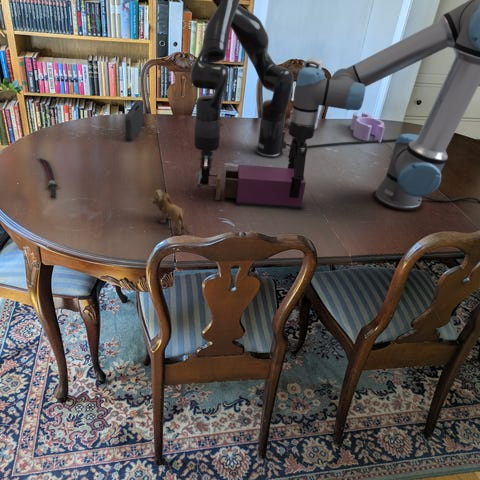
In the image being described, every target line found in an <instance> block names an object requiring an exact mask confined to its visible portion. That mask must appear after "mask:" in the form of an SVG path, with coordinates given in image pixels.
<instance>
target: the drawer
mask: <svg viewBox="0 0 480 480" xmlns="http://www.w3.org/2000/svg"><path fill="white" fill-rule="evenodd" d="M201 172H202V171H199V172H198V174H197V181H196V187H197V188H199V189H200V188H201V187H204V188H215V200H220V199H221V198H220V197H221V186H222V184H221V183H222V166H217V169H216V173H210V175H209V177H214V178H216V184H210V183H209V184H202V174H201ZM237 190H238V169H225V178H224V198H230V199H236V198H237Z"/></svg>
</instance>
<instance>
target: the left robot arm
mask: <svg viewBox="0 0 480 480" xmlns="http://www.w3.org/2000/svg"><path fill="white" fill-rule="evenodd" d="M211 1H212V3H213V4H214V5H215V7H216V10H215V11H214V12H213V14H212V16H211V17H210V18H209V20H208V22H207V24H206V26H205V29H204V33H203V38H202V44H201V49H200V51H199V53H198V55H197V58H196V59H195V61H194V63H193V65H192V66H191V70H190V75H189V78H190V82H191V84H192V85H193V87H194V88H197V89H202V90H203V89H205V90H207V89H209V90H211V91H213V90H214V94H213V93H211V94H212V95H210V94H209V95H207V96H205V95H201V96H199V97H198V98H197V99H196V103H195V104H196V106H195V108H196V110H195V121H194V148H195V149H197V150H199V162H200V163H199V165H200V166H199V167H200V169H201V171H200V172H201V174H202V184H209V185H210V176H209V175H210V174H211V170H212V163H213V157H214V151H217V150H218V149H219V148H220V140H221V139H220V138H221V137H220V136H221V107H222V100H223V96H224V93H225V90H226V88H227V84H228V81H229V77H230V75H229V69H228V67H227V66H226V65H225V64H222V63H219V62H221V61H223V60H224V59H225V57H226V54H227V50H228V49H227V48H228V44H229V38H230V33H231V30H232V32H233V33H234V36H235V37H236V39H237V41H238V42H239V44H240V46H241V47H242V49H243V51H244V52H245V54H246V55H247V57H248V59H249V60H250V62H251V64H252V66H253V68H254V69H255V72H256V75H257V77H258V79H259V81H260V83H261V86H262V87H263V88H264V89H266V90H267V91H269V92H271V93H272V97H271V99H266V100H263V102H262V105H261V114H260V123H259V131H258V138H257V139H258V140H257V149H256V153H257V154H258V155H259V156H262V157H264V158H265V157H266V158H277V157H279V156H281V155H282V154H283V150H285V149H287V147H289V148H290V147H291V143H288V142H287V141H286V140H285V136H286V130H284V128H285V122H286V115H287V109H288V107H289V105H290V101H291V96H292V91H293V88H294V79H295V78H294V74H293V73H294V72H293V71H292V70H291V69H289V68H286V67H284V66H280V65H278V64H276V63H275V61H273V59H272V58H271V56H270V54H269V45H270V39H269V35H268V32H267V31H266V29H265V27H264V25H263V23H262V21H261V20H260V19H259V17H257V16H256V15H255V14H254V13H253V12H250V11H249V10H247V9H246V8H244V7H242V6H241V5H240V1H241V0H211ZM213 62H214V63H213ZM215 63H217V64H215ZM396 141H397V138H389V139H382V140H381V143H383V142H384V143H385V142H396ZM367 143H379V140H374V139H373V140H368V141H364V140H358V141H357V140H356V141H345V142H343V141H341V142H331V143H330V142H329V143H319V144H309V145H307V149H309V148H319V147H328V146H340V145H352V144H353V145H354V144H355V145H356V144H367Z"/></svg>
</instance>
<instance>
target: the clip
mask: <svg viewBox="0 0 480 480" xmlns="http://www.w3.org/2000/svg"><path fill="white" fill-rule="evenodd" d="M358 114H359V113H358V112H357V111H356V112H353V114H352V118H351V122H350V126H349V129H350V130H351V131H353V132H352V136H353V137H354V138H356V139H358V140H360V141H370V135H372V136H374V139H373V140H379V142H378V143H382V142H381V140H383V137H384V132H385V129H386V127H385V122H384V121H383V120H380V119H377V118H374V117H372V115H371V114H369V113H366V112H361V115H358Z"/></svg>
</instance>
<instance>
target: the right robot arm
mask: <svg viewBox="0 0 480 480" xmlns="http://www.w3.org/2000/svg"><path fill="white" fill-rule="evenodd" d="M447 48H450V49H452V50H453V52H454V59H453V61H452V63H451V66H450V67H449V70H448V72H447V74H446V76H445V78H444V80H443V82H442V84H441V86H440V88H439V90H438V93H437V95H436V97H435V99H434V101H433V104H432V106H431V108H430V110H429V111H428V114H427V117H426V119H425V121H424V123H423V125H422V127H421V129H420V132H419V133H418V134H415V133H414V134H413V133H401V134H399V135H398V136H397V138H396V139H397V141H394V148H393V151H392V153H391V157H390V161H389V164H388V169H387V172H386V175H385V177H384V179H383V180H382V181H381V182H380V184H379V186H378V187H377V188H376V190H375V194H374V197H375V200H376V201H377V202H378V203H380V204H381V205H383V206H385V207H386V208H387V207H388V208H389V209H392V210H395V211H401V212H402V211H403V212H412V211H416V210H418V209H419V208H421V205H422V199H426V200H431V201H433V202H434V201H435V202H440V203H442V202H443V203H445V202H446V203H449V202H455V201H458V200H462V201H463V200H474V201H477V202H478V203H479V204H480V198H478V197H473V196H462V197H459V196H458V197H455V198H451V199H443V198H442V199H441V198H435V197H430V196H428V195H431V194H432V193H434V192H435V191H436V190H438V188H439V187H440V185H441V183H442V170H443V168H444V166H445V164H446V162H447V161H448V158H449V156H448V153H447V148H448V146H449V145H450V143H451V141H452V138H453V137H454V134H455V132H456V131H457V129H458V127H459V125H460V123H461V121H462V119H463V117H464V115H465V114H466V111H467V109H468V107H469V105H470V104H471V101H472V100H473V97H474V95H475V94H476V91H477V89H478V88H479V85H480V0H467V1H465V2H463V3H462V4H460V5H458V6H456V7H454V8H453V9H451V10H450V11H448V12H446V13H444V14H441V16H440V18H439V20H438V21H436V22H434V23H432V24H430V25H429V26H426V27H424V28H423V29H420V30H419V31H417V32H415V33H413V34H411V35H409V36H407V37H404V38H403V39H401V40H399V41H397V42H395V43H393V44H392V45H390V46H387V47H386V48H384V49H382V50H380V51H377V52H376V53H374V54H372V55H370V56H368V57H366V58H363V59H361V60H360V61H358V62H356V63H355V64H352V65H351V66H348V67H347V68H345V67H344V68H340V69H339V68H338V69H337V70H336V71H335V72H334V73H333V74H332V76H331V78H327V77H326V75H325V74H326V72H325V71H324V70H323V69H316V68H317V67H310V66H309V67H306V68H304V67H303V68H301V69H299V71H298V73H297V78H296V83H295V89H294V96H293V104H292V108H293V111H292V110H290V111H289V115H291V114H292V116H291V122H290V126H288V127H289V128H288V134H289V136H291V137H292V139H291V143H290V145H291V147H290V146H289V152H288V156H287V158H288V165H287V168H291V169H294V177H291V179H292V183H291V189H290V195H289V197H290V198H298V196H299V190H300V185H301V181H303V176H304V175H305V167H306V160H307V159H306V157H307V152H308V148H307V146H308V143H307V140H310V139H312V138H314V135H315V131H316V129H315V125H314V124H316V120H317V115H318V116H319V113H318V107H319V108H320V106H322V107H327V108H328V107H329V108H334V109H335V108H336V109H342V110H346V111H360V110H361V109H362V107H363V103H364V100H365V94H366V88H367V87H368V86H371V85H372V84H375V83H377V82H378V81H380V80H382V79H385V78H387V77H389V76H391V75H393V74H395V73H398V71H399V72H400V71H402V70H404V69H406V68H407V67H409V66H412V65H414V64H417V63H418V62H420V61H422V60H424V59H426V58H428V57H431V56H432V55H435V54H437V53H439V52H441V51H443V50H445V49H447Z"/></svg>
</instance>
